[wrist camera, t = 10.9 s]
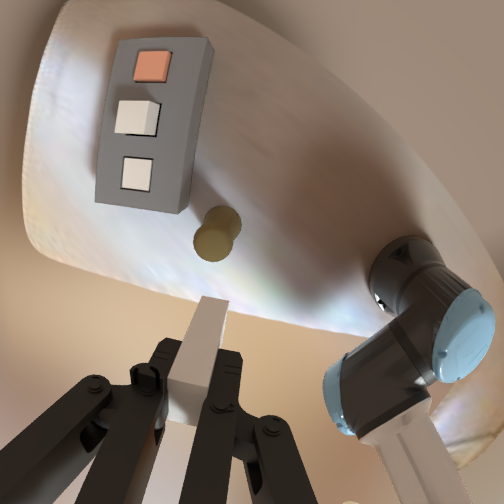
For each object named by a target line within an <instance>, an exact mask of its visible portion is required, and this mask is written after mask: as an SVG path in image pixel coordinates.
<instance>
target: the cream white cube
mask: <svg viewBox="0 0 504 504" xmlns="http://www.w3.org/2000/svg"><path fill="white" fill-rule="evenodd" d="M159 107H160V105H159V104H156V103H153V102H151V101H119V107H118V113H117V119H116V125H115V133H126V134H144V135H155V131H156V125H157V118H158V113H159Z"/></svg>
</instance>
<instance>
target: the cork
mask: <svg viewBox="0 0 504 504" xmlns="http://www.w3.org/2000/svg"><path fill="white" fill-rule="evenodd" d="M240 230H241V219H240V217H239V215H238V213H237V212H236V211H235V210H234V209H232V208H230V207H227V206H217V207H215V208H213V209H211V210H210V211H209V212H208V213H207V215H206V217H205V220H204V224H203V225H202V226H201V227H200V228H199V229H198V230H197V231H196V233H195V235H194V240H193V244H194V249H195V251H196V253H197V254H198V255H199V256H200V257H201V258H202V259H204V260H206V261H210V262H218V261H220V260H223V259H224V258H226V257H227V256H228V255H229V253H230V252H231V250H232V246H233V240H234V239H235V238H236V237H237V236H238V234H239V232H240Z"/></svg>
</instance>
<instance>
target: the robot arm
mask: <svg viewBox="0 0 504 504" xmlns="http://www.w3.org/2000/svg"><path fill="white" fill-rule="evenodd" d="M369 287H370V292H371V295H372V297H373V299H374V300H375V302H376V303H377V305H378V306H379V307H380V308H381V309H382V310H383V311H384V312H386V313H388V314H390V315H392V316H394V317H396V318H395V319H394V320H392V321H391V322H390V323H388V324H387V325H386V326H385V327H383V328H382V329H381V330H379V331H378V332H377V333H376V334H374V335H373V336H372V337H370V338H369V339H368V340H366V341H365V342H363V343H362V344H361V345H359V346H358V347H356V348H355V349H354V350H352V351H351V352H349V353H346V354H345V355H344V356H343V357H342V358H341V359H340V360H339V361H338V362H336V363H335V364H333V365H332V366H331V367H330V368H329V369H328V370H327V371H326V373H325V376H324V379H323V395H324V400H325V404H326V407H327V410H328V413H329V415H330V417H331V419H332V421H333V422H334V423H336V424H337V428H338V429H339V430H340V431H341V432H342V433H344V434H346V435H357V438H358V440H359V442H360V443H364V444H367V445H371V446H373V447H374V448H375V449H376V452H377V454H378V456H379V458H380V460H381V462H382V464H383V466H384V468H385V470H386V472H387V475H388V477H389V479H390V481H391V483H392V485H393V487H394V490H395V491H396V494H397V496H398V498H399V500H400V502H401V504H473V503H472V501H471V499H470V497H469V494H468V492H467V490H466V488H465V485H464V483H463V481H462V479H461V477H460V475H459V473H458V471H457V469H456V467H455V465H454V463H453V461H452V459H451V457H450V455H449V453H448V451H447V449H446V447H445V445H444V443H443V441H442V439H441V437H440V435H439V433H438V432H437V430H436V428H435V426H434V424H433V422H432V421H431V419H430V417H429V413H428V412H429V408H430V405H431V401H432V398H431V396H430V394H429V393H428V391H427V387H429V386H430V385H431V384H432V383H434V382H435V381H437V380H439V381H442V382H444V383H452V382H455V381H456V379H458V380H460V379H462V378H464V377H465V376H466V375H468V374H469V373H470V372H471V371H472V370H473V369H474V368H475V367H476V366H477V365H478V364H479V363H480V361H481V360H482V359H483V357H484V356H485V354H486V352H487V350H488V348H489V346H490V344H491V340H492V338H493V335H494V331H495V314H494V311H493V309H492V307H491V305H490V304H489V303H488V302H487V301H486V300H485V299H484V298H483V297H482V295H481V294H480V293H479V291H478V290H476V289H474V288H472V287H471V286H470V285H469V284H467V283H466V282H465V281H464V280H462V279H461V278H460V277H458V276H457V275H456V274H455V273H453V272H452V271H451V270H449V269H448V268H447V267H446V265H445V263H444V261H443V259H442V257H441V255H440V253H439V251H438V250H437V249H436V248H435V246H434V245H432V244H431V243H430V242H428V241H427V240H425V239H423V238H421V237H417V236H405V237H402V238H399V239H397V240H395V241H393V242H391V243H390V244H389V245H387V246H386V247H385V248H384V249H383V250H382V251H381V252H380V254H379V255H378V256H377V258H376V260H375V262H374V264H373V266H372V269H371V272H370V277H369ZM228 305H229V301H227V300H221V299H216V298H211V297H206V296H202V297H201V300H200V302H199V304H198V307H197V309H196V311H195V313H194V316H193V318H192V320H191V323H190V325H189V327H188V330H187V332H186V334H185V337H184V339H183V341H179V340H175V339H171V338H165V339H163V340H162V341H161V342H159V343H158V345H157V347H156V349H155V351H154V353H153V355H152V357H151V359H150V361H149V363H140V364H137V365H135V366H133V367H132V368H131V369H130V377H131V384H130V385H111V384H110V382H109V380H107V379H106V378H105V377H103V376H100V375H89V376H87V377H85V378H83V379H82V380H81V381H80V382H78V383H77V384H76V385H75V386H74V387H73V388H71V389H70V390H69V391H68V392H67V393H66V394H64V395H63V396H62V397H61V398H60V399H59V400H57V401H56V402H55V403H54V404H53V405H52V406H51V407H50V408H48V409H47V410H46V411H45V412H44V413H43V414H41V415H40V416H39V417H38V418H37V419H36V420H34V421H33V422H32V423H31V424H30V425H29V426H28V427H26V428H25V429H24V430H23V431H22V432H21V433H20V434H19V435H17V436H16V437H15V438H14V439H13V440H12V441H11V442H10V443H8V444H7V445H6V446H5V447H4V448H3V449H2V450H0V504H53V502H54V501H55V500H56V499H57V498H58V497H59V496H60V495H61V493H63V491H64V490H65V489H66V488H67V487H68V486H69V485H70V484H71V483H72V481H73V480H74V479H75V478H76V477H77V476H78V475H79V474H80V472H81V471H82V470H83V469H84V468H85V467H86V466H87V465H88V464H89V462H90V461H91V460H92V459H93V458H94V457H95V456H96V457H95V459H94V461H93V463H92V465H91V468H90V470H89V472H88V474H87V476H86V479H85V481H84V483H83V485H82V488H81V490H80V492H79V494H78V497H77V499H76V501H75V503H74V504H142V500H143V497H144V494H145V490H146V487H147V484H148V481H149V478H150V475H151V472H152V468H153V465H154V462H155V459H156V456H157V453H158V450H159V447H160V444H161V441H162V438H163V435H164V432H165V421H166V418H167V415H168V420H171V421H175V422H179V423H183V424H187V425H192V426H196V427H197V429H196V434H195V437H194V442H193V446H192V450H191V454H190V458H189V462H188V466H187V470H186V475H185V479H184V483H183V487H182V491H181V496H180V500H179V504H226V500H227V493H228V485H229V478H230V470H231V461H232V456H233V457H236V458H237V459H240V460H242V461H243V464H244V468H245V473H246V477H247V482H248V486H249V491H250V494H251V499H252V503H253V504H318V502H317V500H316V497H315V495H314V492H313V489H312V487H311V484H310V481H309V479H308V476H307V474H306V470H305V468H304V465H303V462H302V460H301V457H300V454H299V451H298V449H297V446H296V443H295V440H294V438H293V435H292V432H291V429H290V427H289V425H288V424H287V422H286V421H285V420H283V419H282V418H280V417H278V416H274V415H267V416H262V417H261V418H257V417H255V416H252V415H250V414H248V413H246V412H245V411H244V410H243V409H242V408H241V406H240V405H239V402H238V396H239V388H240V379H241V372H242V364H243V359H242V357H241V355H240V353H239V352H235V351H229V350H224V349H221V345H222V341H223V335H224V329H225V323H226V316H227V311H228Z"/></svg>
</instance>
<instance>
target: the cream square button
mask: <svg viewBox="0 0 504 504" xmlns="http://www.w3.org/2000/svg"><path fill="white" fill-rule="evenodd" d="M153 160H154V158H144V157H128V158H125V160H124V169H123V181H122V187H123V188H131V189H139V190H147V191H149V190H150V187H151V177H152V168H153Z"/></svg>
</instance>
